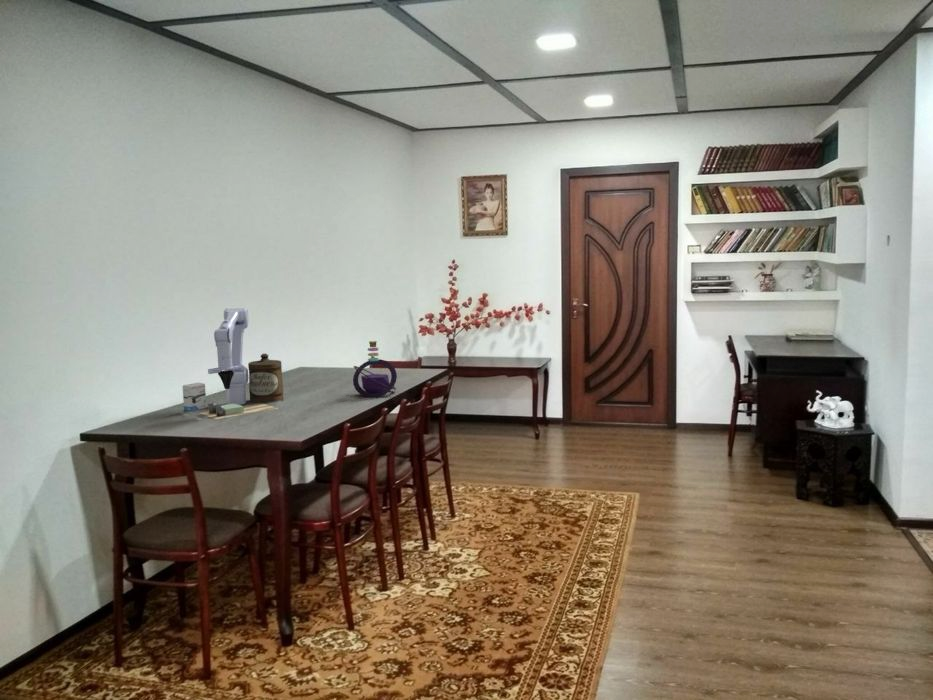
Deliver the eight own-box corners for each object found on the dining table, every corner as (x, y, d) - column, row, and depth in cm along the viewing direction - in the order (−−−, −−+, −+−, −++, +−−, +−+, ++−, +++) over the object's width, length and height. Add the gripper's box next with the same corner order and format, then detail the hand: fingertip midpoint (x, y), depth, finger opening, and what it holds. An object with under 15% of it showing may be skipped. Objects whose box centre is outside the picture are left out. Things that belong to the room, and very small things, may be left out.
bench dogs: (207, 413, 321) (207, 403, 321) (214, 412, 323) (213, 402, 323) (218, 416, 313) (217, 407, 313) (225, 415, 315) (224, 406, 315)
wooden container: (245, 404, 342) (243, 355, 339) (255, 398, 357) (253, 351, 354) (278, 404, 342) (276, 355, 339) (287, 398, 356) (285, 351, 353)
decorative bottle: (344, 397, 353) (341, 344, 350) (361, 389, 373) (358, 338, 370) (390, 398, 347) (388, 343, 344) (405, 390, 368) (403, 338, 365)
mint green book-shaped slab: (216, 412, 323) (215, 406, 323) (234, 409, 328) (233, 403, 328) (225, 415, 316) (225, 409, 315) (244, 412, 321) (243, 406, 321)
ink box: (191, 413, 328) (189, 386, 327) (183, 412, 331) (181, 385, 329) (207, 409, 335) (205, 382, 334) (199, 408, 338) (197, 382, 336)
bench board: (198, 415, 323) (198, 413, 323) (260, 405, 341) (260, 403, 341) (216, 421, 309) (215, 419, 309) (279, 410, 327) (279, 408, 327)
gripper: (211, 359, 315) (214, 392, 317) (245, 355, 325) (247, 387, 326) (205, 358, 321) (207, 390, 322) (238, 354, 330) (240, 385, 332)
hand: (227, 388), depth 325 cm, fingers closed
